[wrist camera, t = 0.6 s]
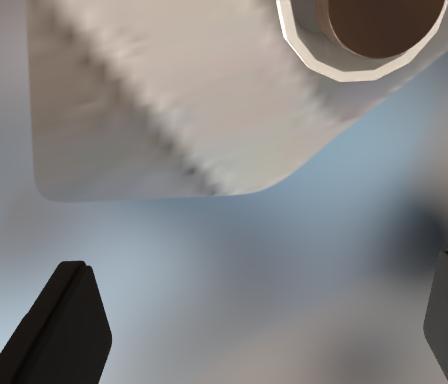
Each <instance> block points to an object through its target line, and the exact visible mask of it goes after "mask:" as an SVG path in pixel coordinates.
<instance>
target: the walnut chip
mask: <svg viewBox="0 0 448 384" xmlns="http://www.w3.org/2000/svg"><path fill="white" fill-rule="evenodd" d="M444 2H445V0H315V12H316V16H317V20H318V23H319V25H320V27H321V29H322V31H323V32H324V33H325V35H326V36H327V37H328V38H329V39H330V40H331V41H333V42H334V43H335V44H337V45H339V46H341V47H342V48H344V49H346V50H348V51H350V52H351V53H353V54H355V55H357V56H360V57H363V58H368V59H384V58H389V57H393V56H396V55H399V54H401V53H403V52H405V51H407V50H409V49H410V48H412V47H413V46H415V45H416V44H417V43H418V42H420V41H421V40H422V39H423V38H424V37H425V36H426V35H427V33H428V32H429V31H430V30H431V29H432V27H433V26H434V24H435V23H436V21H437V19H438V17H439V15H440V13H441V11H442V8H443V6H444Z"/></svg>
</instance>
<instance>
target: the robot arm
mask: <svg viewBox="0 0 448 384" xmlns="http://www.w3.org/2000/svg"><path fill="white" fill-rule="evenodd" d="M423 329H424V334H425V338H426V340H427V342H428V344H429V346H430V348H431V350H432V351H433V353H434V355H435V357H436V359H437V361H438V363H439V365H440V366H441V369H442V371H443V372H444V374H445V376H446V378H447V380H448V246H447V247H446V250H445V251H441V252H440V253H439V256H438V261H437V265H436V270H435V275H434V279H433V284H432V288H431V293H430V297H429V302H428V306H427V311H426V316H425V320H424V326H423ZM111 345H112V334H111V330H110V327H109V324H108V320H107V317H106V314H105V310H104V307H103V303H102V300H101V297H100V293H99V290H98V287H97V283H96V280H95V276H94V273H93V269H92V267H91V266H86V264H85V262H84V261H63V262H61V263H60V264H59V265H58V266H57V268H56V270H55V271H54V273H53V274H52V276H51V278H50V279H49V281H48V282H47V284H46V285H45V287H44V288H43V290H42V291H41V293H40V295H39V296H38V298H37V300H36V301H35V302H34V304H33V306H32V307H31V309H30V310H29V312H28V313H27V314H26V315H25V316H24V318H23V319H22V321H21V322H20V324H19V325H18V327H17V328H16V330H15V332H14V333H13V335H12V336H11V338H10V339H9V341H8V342H7V344H6V346H5V347H4V349H3V350H2V352H1V353H0V384H98V383H99V380H100V377H101V375H102V372H103V369H104V366H105V363H106V360H107V357H108V355H109V352H110V348H111Z"/></svg>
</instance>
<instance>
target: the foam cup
mask: <svg viewBox="0 0 448 384" xmlns="http://www.w3.org/2000/svg"><path fill="white" fill-rule="evenodd" d="M276 3H277V8H278V13H279V17H280V22H281V27H282V32H283V36H284V38H285V39H286V40H287V42H288V43H289V44H290V45H291V47H292V48H293V49H294V51H295V52H296V53H297V54H298V56H299V57H300V58H301V59H302V61H303V62H304V63H305V64H306V65H307V67H308V68H309V69H311V70H314V71H316V72H318V73H321V74H323V75H325V76H327V77H330V78H332V79H334V80H336V81H339V82H351V81H368V80H376V79H378V78H380V77H382V76H384V75H386V74H388V73H390V72H392V71H394V70H396V69H398V68H400V67H402V66H404V65H406V64H408V63H410V61H411V60H412V59H413V58H414V57H415V56H416V55H417V54H418V53H419V51H420V50H421V49H422V48H423V47H424V46H425V45H426V44H427V42H428V41H429V40H430V39H431V38H432V37H433V36H434V35H435V33H436V32H437V31H438V28H439V26H440V23H441V20H442V18H443V15H444V13H445V10H446V7H447V5H448V0H445V2H444V6H443V8H442V11H441V13H440V15H439V17H438V19H437V21H436V23H435V24H434V26H433V27H432V29H431V30H430V31H429V32H428V33H427V35H426V36H425V37H424V38H423V39H422V40H421V41H420V42H418V43H417V44H416V45H415V46H413V47H412V48H410V49H409V50H407V51H405V52H403V53H401V54H399V55H396V56H393V57H389V58H384V59H368V58H363V57H360V56H357V55H355V54H353V53H351V52H350V51H348V50H346V49H344V48H342V47H341V46H339V45H337V44H335V43H334V42H333V41H331V40H330V39H329V38H328V37H327V36H326V35H325V33H324V32H323V31H322V29H321V27H320V25H319V23H318V20H317V16H316V12H315V0H276Z"/></svg>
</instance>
